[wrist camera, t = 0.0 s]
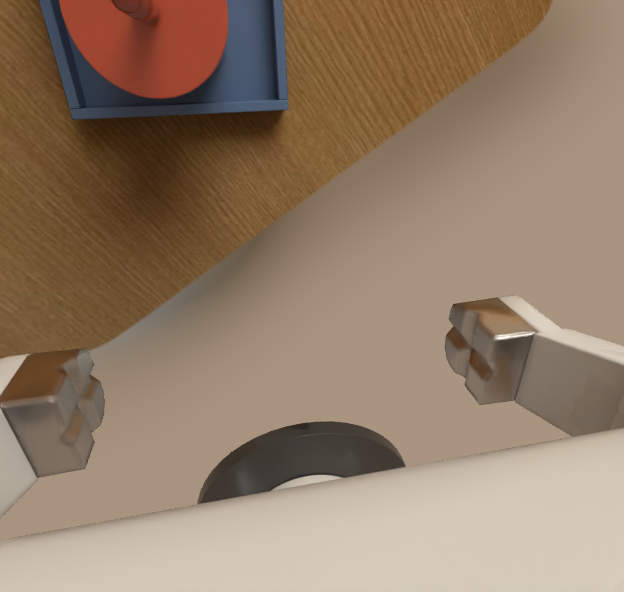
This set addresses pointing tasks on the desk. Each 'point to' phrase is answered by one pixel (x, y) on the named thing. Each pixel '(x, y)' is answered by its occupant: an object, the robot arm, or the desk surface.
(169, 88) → the red cylinder with peg
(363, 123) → the desk surface
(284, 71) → the blue tray
